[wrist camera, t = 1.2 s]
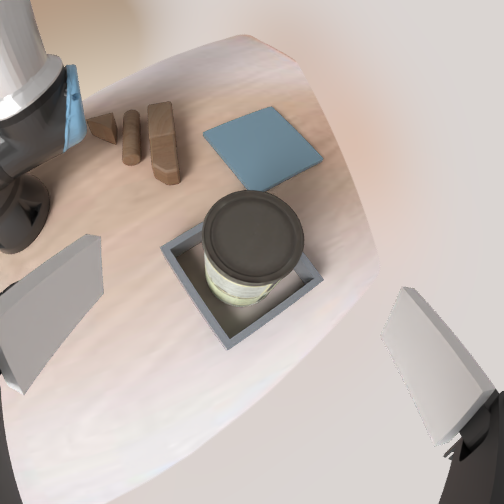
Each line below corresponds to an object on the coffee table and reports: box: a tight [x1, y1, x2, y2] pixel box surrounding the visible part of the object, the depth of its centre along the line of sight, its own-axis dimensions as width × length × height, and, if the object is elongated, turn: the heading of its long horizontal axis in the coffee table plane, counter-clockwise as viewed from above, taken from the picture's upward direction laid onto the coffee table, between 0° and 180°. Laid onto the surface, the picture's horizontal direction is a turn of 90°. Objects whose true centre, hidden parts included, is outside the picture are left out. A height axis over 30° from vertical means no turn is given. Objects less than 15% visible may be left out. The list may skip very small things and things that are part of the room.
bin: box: [160, 222, 324, 350], centre depth 39 cm, size 16×16×4 cm
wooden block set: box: [87, 102, 180, 185], centre depth 44 cm, size 17×6×18 cm
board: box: [203, 106, 323, 192], centre depth 49 cm, size 16×16×1 cm
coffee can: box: [202, 190, 304, 307], centre depth 35 cm, size 10×10×14 cm
